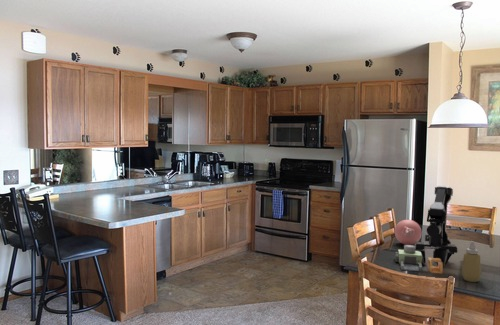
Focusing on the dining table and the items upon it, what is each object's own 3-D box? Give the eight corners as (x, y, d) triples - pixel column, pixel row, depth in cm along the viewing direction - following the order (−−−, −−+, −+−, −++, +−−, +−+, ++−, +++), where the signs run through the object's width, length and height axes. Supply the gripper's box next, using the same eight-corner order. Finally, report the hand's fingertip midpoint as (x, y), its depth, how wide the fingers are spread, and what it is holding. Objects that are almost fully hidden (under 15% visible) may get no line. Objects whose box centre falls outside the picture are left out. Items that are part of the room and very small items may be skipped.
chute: (439, 268, 212) (440, 258, 212) (442, 273, 204) (442, 263, 203) (427, 267, 214) (428, 257, 213) (429, 272, 205) (430, 262, 205)
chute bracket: (420, 265, 216) (420, 261, 216) (422, 271, 206) (422, 267, 206) (400, 263, 219) (400, 259, 219) (401, 269, 208) (401, 265, 208)
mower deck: (423, 260, 225) (423, 245, 224) (424, 265, 216) (425, 250, 215) (394, 258, 229) (395, 243, 228) (395, 263, 220) (395, 247, 219)
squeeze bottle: (474, 277, 198) (476, 239, 197) (484, 283, 190) (486, 243, 189) (457, 277, 198) (459, 239, 197) (467, 283, 190) (468, 243, 189)
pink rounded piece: (391, 247, 251) (392, 222, 250) (396, 240, 269) (396, 216, 268) (419, 251, 244) (420, 224, 243) (422, 243, 262) (423, 218, 261)
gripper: (454, 230, 213) (453, 261, 214) (414, 228, 218) (413, 258, 219) (458, 235, 202) (456, 268, 203) (416, 232, 207) (415, 264, 208)
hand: (435, 264), depth 209 cm, fingers open, 9 cm apart
